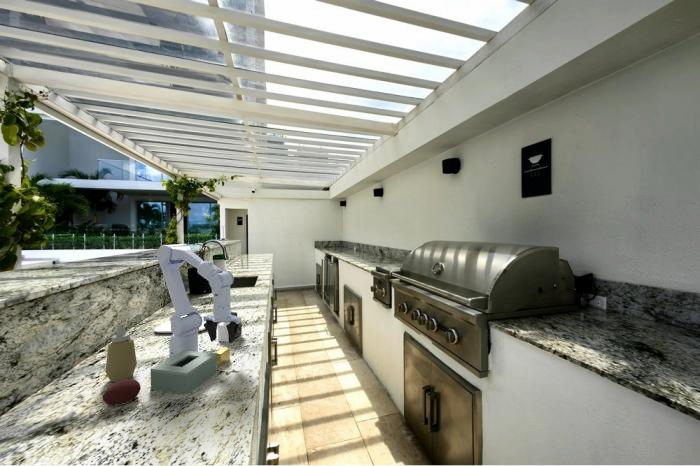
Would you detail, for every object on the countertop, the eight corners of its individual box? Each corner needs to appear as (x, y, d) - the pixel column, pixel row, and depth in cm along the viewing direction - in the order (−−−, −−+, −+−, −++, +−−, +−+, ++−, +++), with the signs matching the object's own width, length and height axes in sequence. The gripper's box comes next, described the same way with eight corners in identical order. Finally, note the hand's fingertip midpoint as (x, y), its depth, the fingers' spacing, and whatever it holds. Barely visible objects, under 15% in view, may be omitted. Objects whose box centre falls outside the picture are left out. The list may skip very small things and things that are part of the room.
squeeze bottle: (142, 373, 93) (142, 321, 93) (116, 386, 86) (115, 329, 85) (126, 369, 96) (126, 319, 96) (99, 382, 88) (98, 326, 88)
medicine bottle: (232, 342, 119) (232, 315, 119) (217, 341, 120) (217, 314, 120) (242, 336, 126) (241, 310, 126) (228, 335, 127) (228, 309, 127)
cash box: (150, 389, 84) (150, 368, 84) (184, 368, 97) (184, 350, 97) (186, 394, 82) (186, 373, 81) (216, 372, 94) (216, 353, 94)
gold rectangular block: (215, 365, 99) (214, 353, 99) (224, 359, 104) (223, 347, 104) (220, 366, 98) (220, 353, 98) (229, 359, 103) (229, 347, 103)
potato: (109, 397, 80) (109, 377, 80) (144, 391, 83) (143, 371, 83) (98, 413, 73) (98, 391, 73) (136, 405, 77) (136, 384, 76)
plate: (200, 335, 127) (200, 330, 127) (148, 335, 128) (148, 330, 128) (225, 318, 152) (225, 314, 152) (181, 318, 153) (181, 314, 153)
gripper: (196, 306, 98) (197, 344, 99) (232, 308, 95) (233, 347, 96) (210, 301, 105) (211, 336, 105) (244, 303, 102) (244, 339, 103)
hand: (222, 341), depth 101 cm, fingers open, 7 cm apart
